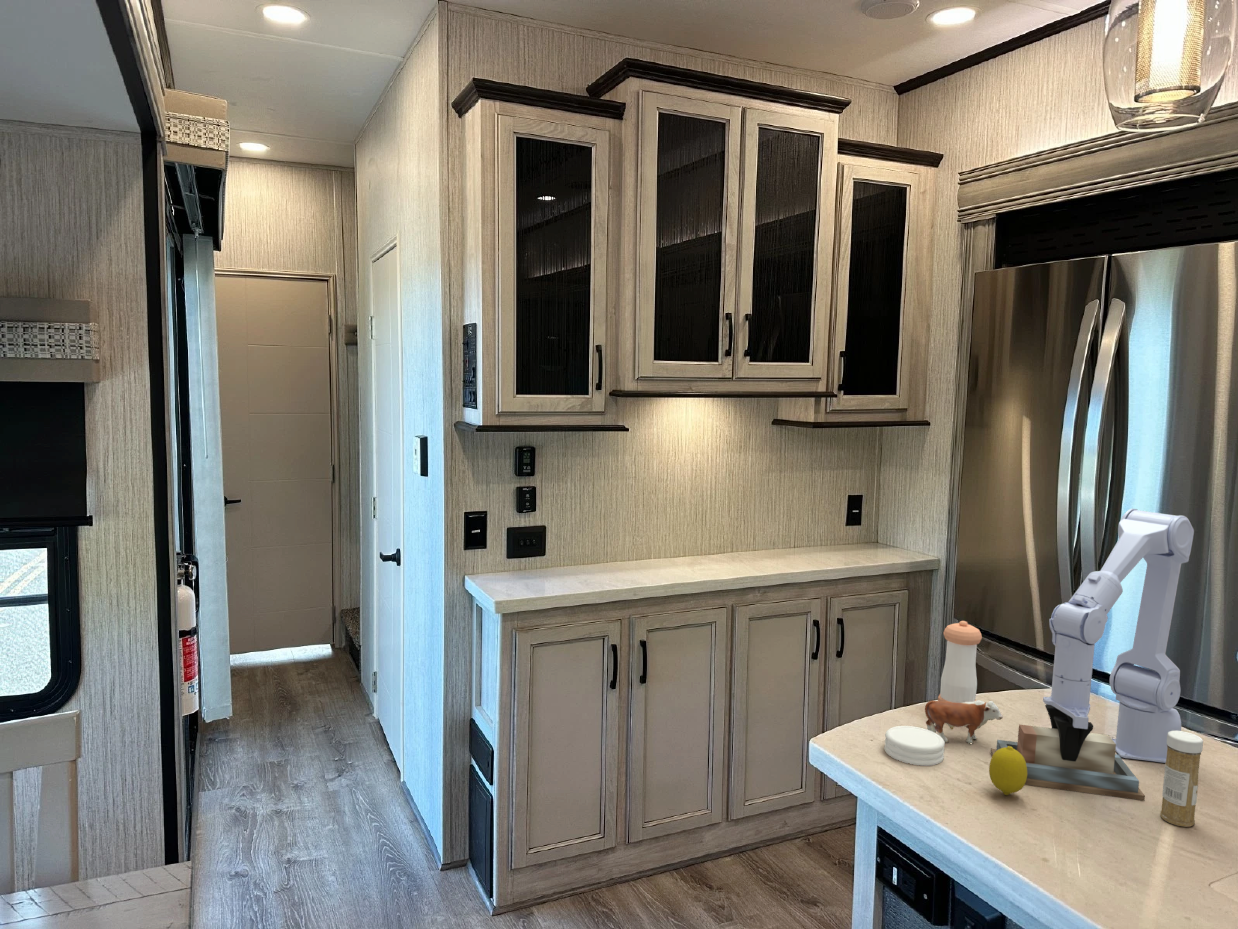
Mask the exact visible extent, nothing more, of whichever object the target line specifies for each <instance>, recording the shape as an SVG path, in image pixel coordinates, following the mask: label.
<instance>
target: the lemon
mask: <svg viewBox="0 0 1238 929" xmlns="http://www.w3.org/2000/svg"><path fill="white" fill-rule="evenodd" d="M988 772H989V778H990V780H991V782H992V784H993V786H995V788H996V789H997V790H998V791H1001V793H1003V795H1004V796H1009V795H1010V794H1014V793H1017V792H1019V791H1021V790H1022V789H1023V788H1024V787H1025V786H1026V785H1025V782H1026V779H1027V765H1026V762H1025V759H1024V757H1023V756H1022V755H1021V754H1020V753H1019V752H1018V751H1017V750H1015V749H1013V747H1011V746H1008V747H1005V748H1001V749H999V750H997V751H996V752H995V753H994V754H993V756H992V755H991V758H990V762H989V767H988Z"/></svg>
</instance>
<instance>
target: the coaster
mask: <svg viewBox="0 0 1238 929" xmlns="http://www.w3.org/2000/svg"><path fill="white" fill-rule="evenodd" d="M884 736H885V740H884V751H885V753H886V754H887V756H889V757H890V756H891V758H892V759H894V760H896V761H898V760H899V761H898V762H901V761H902V762H901V763H904V764H908V763H910V764H909V765H912V764H913V765H915V766H919V765H920V767H921V766H923V767H929V766H935V765H938V764H941V763H942V762H943V761H944V758H945V755H944V753H945V746H946V743H945V742H944V740H943V739H942V737H941V736H940V735H939V733H937V732H936V733H934V732H932V731H930V730H928V729H927V728H922V727H919V726H918V727H917V726H912V725H898V726H892V727H890V728H888V729H887V730H886V732H885V734H884Z"/></svg>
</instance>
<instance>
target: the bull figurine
mask: <svg viewBox="0 0 1238 929" xmlns="http://www.w3.org/2000/svg"><path fill="white" fill-rule="evenodd" d="M924 706H925V707H924V713H925V716H926V718H927V720H926V721H925V724H926V727H927V728H926V729H927V730H930V731H932V732H934V733H936V734H938V735H939V736H941V737H942V739H943V740H944V742H948V743H949V742H950V741H949V739H948V737H947V736H946V735H945V734H944V729H943V728H944V726H945V724H946V725H947V726H948V727H949V729H950V730H951V731H952V730H954V728H960V727H965V728H966V729H968V731H967V737H966V739H965V741H966V742H967V743H968V744H969V743H972V744H971V745H974V742H973V739H978V737H977V736H976V733H975V732H976V731H977V730H979V729H980V728H982V726H984V725H986V724H987V723H988V721H994V720H998V721H1000V720H1003V718H1004V715H1003V714H1002V713H1001V711H1000V708H999V707H998V706H997V704H996V703H994V701H993V700H989V701H988V702H985V701H983V700H977V699H976V701H974V702H963V703H954V702H943V701H938V700H929V701H928V702H926V704H925V705H924Z"/></svg>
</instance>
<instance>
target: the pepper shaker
mask: <svg viewBox="0 0 1238 929" xmlns="http://www.w3.org/2000/svg"><path fill="white" fill-rule="evenodd" d="M943 638H944V639H945V640H946V650H945V651H946V653H945V662H944V666H943V669H942V674H941V677H940V692H939V694H938V696H937V701H943V702H954V703H963V702H974V701H977V699H976V697H977V689H978V679H977V668H976V662H977V661H976V659H977V647H978V645H979V644H980V643H981V641H982V639H983V636H982V633H981V631H980V629H979V628H977V627H975V626H973V625H971V624H969V622H968V621H966V620H961V621H959V622H957V623H951V624H949V625H948V624H947V626H946V627H945V628H944V630H943Z"/></svg>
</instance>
